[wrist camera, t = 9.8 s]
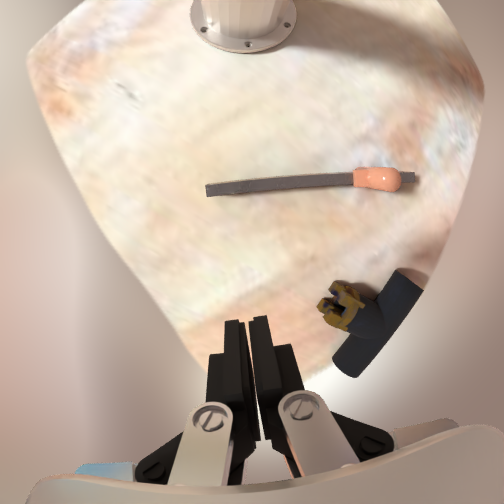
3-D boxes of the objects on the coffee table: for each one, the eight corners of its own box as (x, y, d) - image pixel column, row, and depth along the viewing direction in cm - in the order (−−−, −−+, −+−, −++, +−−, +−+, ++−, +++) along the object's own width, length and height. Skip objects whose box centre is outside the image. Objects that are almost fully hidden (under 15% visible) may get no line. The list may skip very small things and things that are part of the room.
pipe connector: (300, 359, 32) (376, 255, 28) (292, 336, 37) (356, 242, 34) (363, 381, 34) (430, 295, 31) (350, 360, 39) (409, 280, 36)
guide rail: (207, 178, 30) (200, 180, 23) (401, 166, 31) (434, 168, 24) (209, 199, 31) (203, 208, 24) (401, 185, 32) (435, 190, 25)
